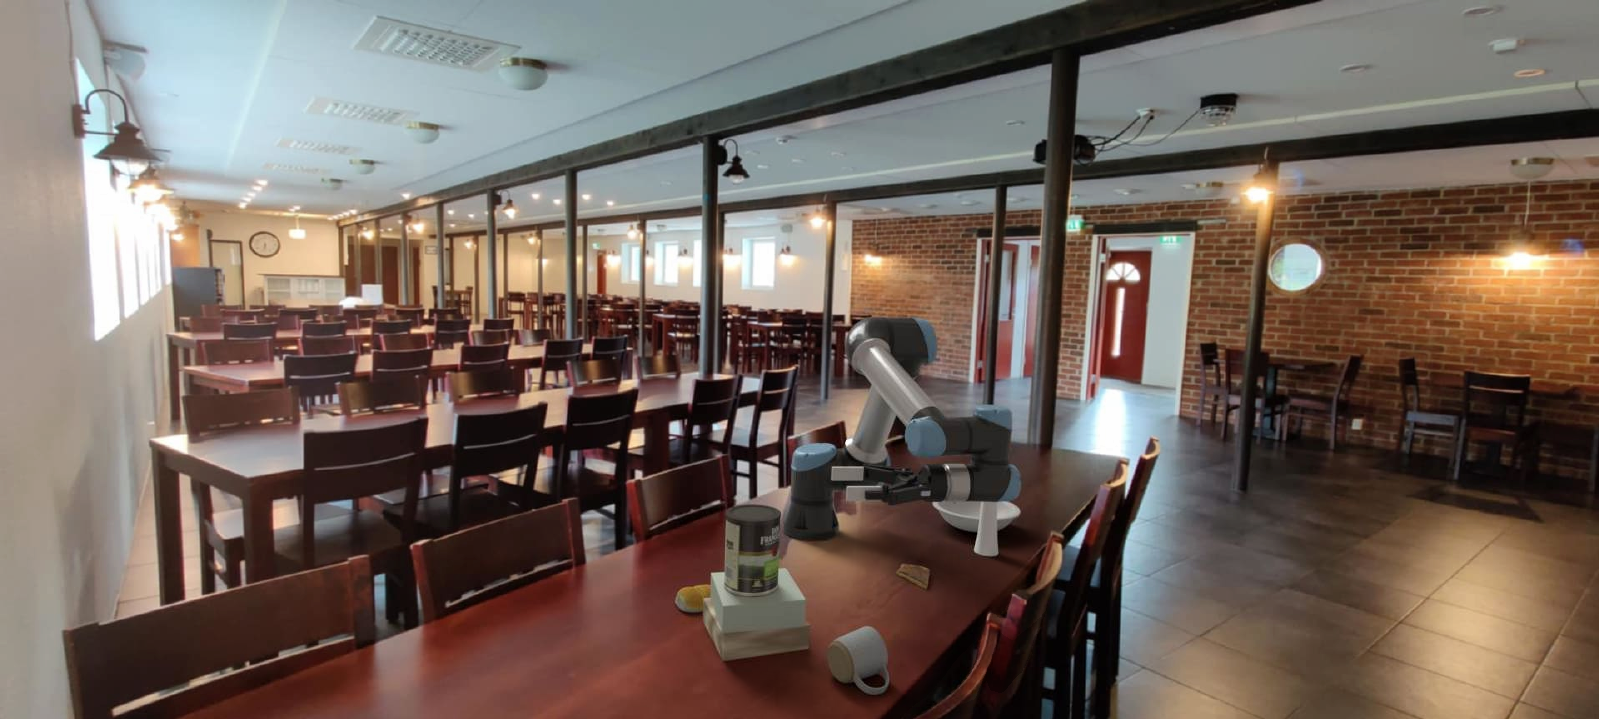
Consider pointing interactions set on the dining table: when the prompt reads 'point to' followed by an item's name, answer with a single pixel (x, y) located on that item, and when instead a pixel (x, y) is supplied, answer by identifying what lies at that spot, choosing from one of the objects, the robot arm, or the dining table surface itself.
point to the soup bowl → (974, 514)
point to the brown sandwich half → (915, 574)
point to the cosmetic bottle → (987, 530)
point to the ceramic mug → (859, 658)
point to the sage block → (758, 606)
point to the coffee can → (752, 550)
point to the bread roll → (692, 598)
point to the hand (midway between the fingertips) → (838, 483)
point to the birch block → (753, 638)
